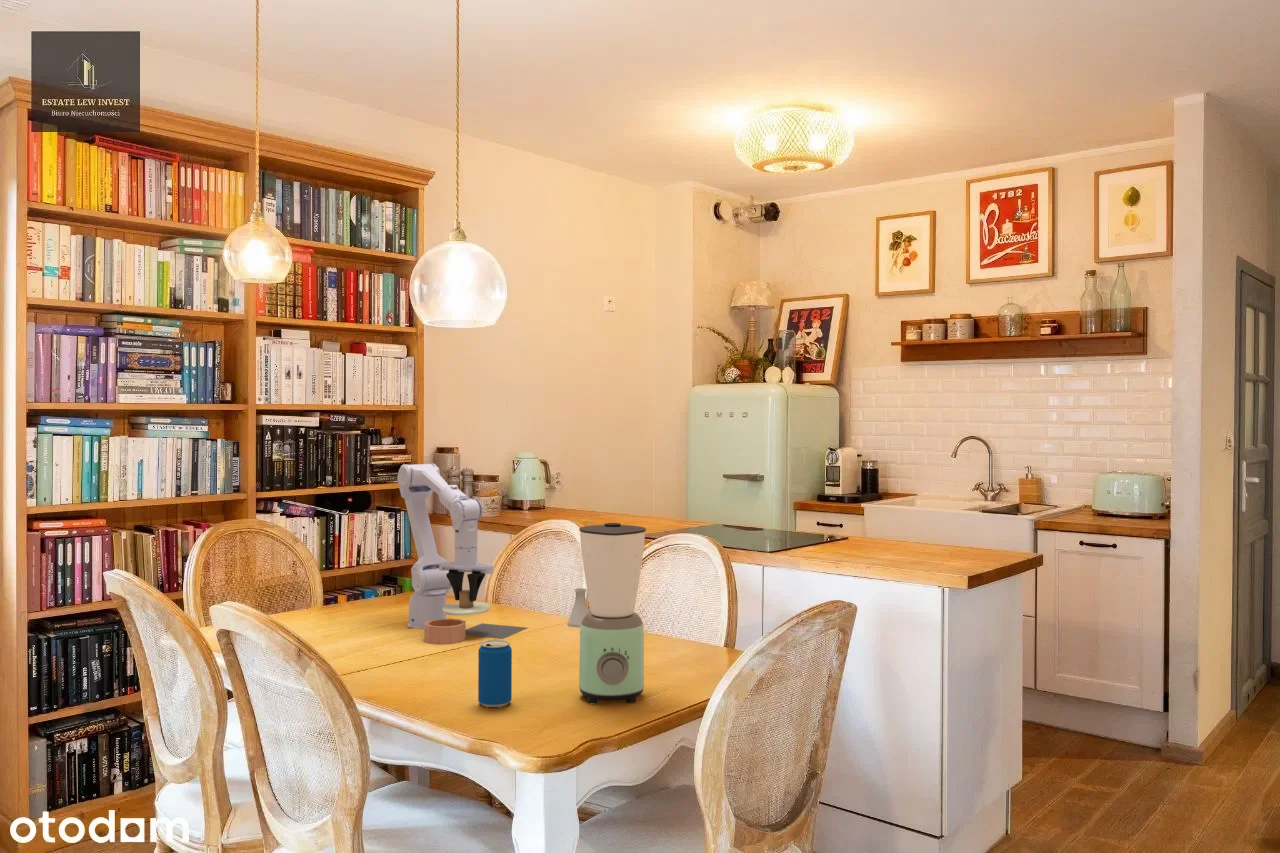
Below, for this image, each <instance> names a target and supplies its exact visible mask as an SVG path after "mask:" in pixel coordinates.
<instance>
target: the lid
mask: <svg viewBox="0 0 1280 853" xmlns="http://www.w3.org/2000/svg"><path fill="white" fill-rule="evenodd" d="M469 594H470V589H462V590H461V591H459V600H458V602H453V603H448V604H446V606H444V607H443V608H442V610H443V613H445V614H446V615H450V616H472V615H474V616H475V615H479V614H484V613H487V612H489V611H490V610H491V604H490V603H488V602H483V601H473V602H470V597H469Z"/></svg>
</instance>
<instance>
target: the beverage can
mask: <svg viewBox="0 0 1280 853" xmlns="http://www.w3.org/2000/svg"><path fill="white" fill-rule="evenodd" d="M510 644H511V643H510V642H509V641H508V640H504V639H501V640H500V639H494V640H493V639H492V640H490V639H489V640H485V641H482V642H480V647H479V648H478V662H477V664H478V666H477V667H478V668H477V670H478V671H477V672H478V673H477V674H478V677H477V678H478V680H477V681H478V682H477V684H478V686H477V690H478V691H477V692H478V693H477V694H478V696H477V700H478V704H481V705H483V706H482V707H484V706H486V707H485V708H488V707H499V708H503V707H502V706H504V707H506V706H508V704H509V703H510V702H512V694H513V693H512V690H513V687H512V685H513V684H512V681H513V680H512V675H513V674H512V672H513V671H512V670H513V668H512V664H513V663H512V659H513V657H512V656H513V649H512V647H511V646H510ZM505 705H506V706H505Z"/></svg>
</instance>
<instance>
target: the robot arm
mask: <svg viewBox="0 0 1280 853" xmlns="http://www.w3.org/2000/svg"><path fill="white" fill-rule="evenodd" d="M396 480H397V484H398V488H399V492H400V497H401V498H403V499H404V503H405V506H406V510H407V514H408V515H407V516H408V520H409V524H410V527H411V533H412V536H413V541H414V546H415V550H416V553H417V558H418V560H417V561H416V562H415V563H414V564H413V565H412V567H411V568H410V571H411V586H412V588H413V589H412V590H414V592H413V593H412V594H411V595H410V598H409V601H408V625H406V628H410V629H411V628H412V629H414V628H417V629H425V622H428V621H431V620H437V619H447V614H445V613H443V610H442V608H443V607H444V606H446V605H447V593H450V591H449V590H451V589H452V592H453V594H454V595H453V596H454V599H455V601H459V591H461V590H463V582H464V576H465V573H467V574H466V576H467V581H468V588H469V590H470V594H469V597H470V602H477V600H478V599H477V598H478V595H479V594H478V593H479V590H480V587H481V585H482V583H483V581H484V579H485V576H486V575H490V574H493V573H494V565H492V564H484V563H478V522H479V521H480V520H481V519H482V516H483V506H482V502H480V500H479V499H478V498H469V497H468V496H467V494H465V493H464V492H463V491H462V490H460V489H459V486H458V485H457V484H449V483H447V481H445V479H444V477H442V475H441V471H440V467H438V466H437V465H436V464H435V463H431V462H430V463H423V464H422V463H421V464H416V463H415V464H407V463H406V464H405V463H404V464H402V465H401V466H400V468H399V469H398V473H397V479H396ZM433 493H436V494H437V495H438V500H439V502H440V503H441V504H442V505H443V506H444V507H445V509H447V510H448V511H449V515H450V519H451V522H452V529H453V530H454V562H453V561H451V562H450V561H449V562H448V560H447V559H445V558H443V557H442V556H441V555H439V553H438V549H437V545H436V542H435V537H434V532H433V530H432V526H431V521H430V516H429V512H428V508H427V503H426V501H427V498H429V497H430V496H432V494H433Z"/></svg>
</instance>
